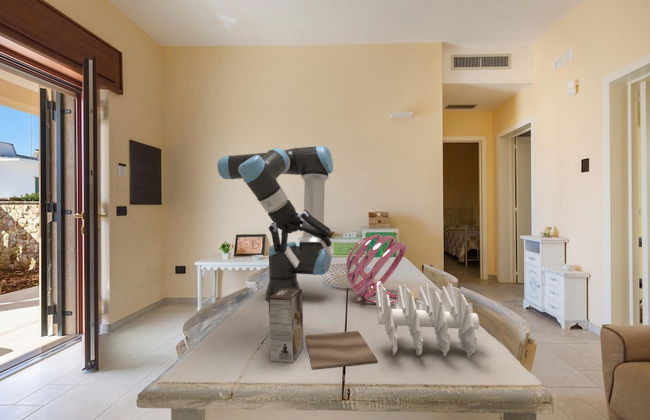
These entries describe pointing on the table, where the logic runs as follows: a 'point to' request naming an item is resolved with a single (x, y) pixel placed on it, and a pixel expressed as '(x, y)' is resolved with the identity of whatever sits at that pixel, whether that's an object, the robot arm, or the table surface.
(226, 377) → the table surface
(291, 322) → the coffee box
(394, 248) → the spiral basket
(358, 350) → the walnut board
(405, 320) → the spiral staircase
